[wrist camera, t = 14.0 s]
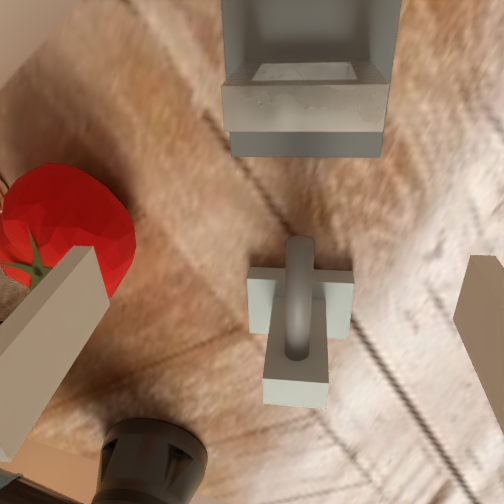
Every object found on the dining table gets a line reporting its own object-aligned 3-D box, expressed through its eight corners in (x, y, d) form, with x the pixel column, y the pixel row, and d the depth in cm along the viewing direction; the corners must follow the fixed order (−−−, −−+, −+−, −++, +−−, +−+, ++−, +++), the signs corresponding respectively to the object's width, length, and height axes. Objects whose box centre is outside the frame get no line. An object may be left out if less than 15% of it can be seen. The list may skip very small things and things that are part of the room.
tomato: (118, 137, 36) (56, 186, 27) (168, 259, 42) (131, 329, 33) (10, 162, 38) (-77, 213, 30) (73, 273, 45) (16, 341, 36)
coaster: (232, 154, 35) (231, 156, 35) (221, -16, 29) (220, -16, 28) (379, 155, 34) (380, 157, 33) (402, -23, 27) (404, -24, 27)
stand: (346, 325, 44) (356, 427, 34) (252, 319, 45) (234, 416, 35) (362, 189, 35) (381, 270, 25) (245, 187, 37) (220, 264, 27)
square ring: (245, 96, 32) (224, 131, 24) (243, 60, 30) (220, 86, 23) (366, 95, 31) (382, 131, 23) (370, 58, 29) (389, 84, 22)
